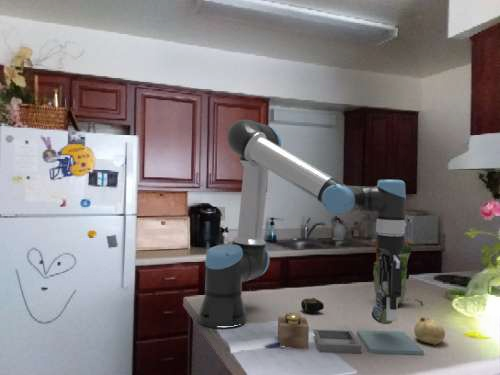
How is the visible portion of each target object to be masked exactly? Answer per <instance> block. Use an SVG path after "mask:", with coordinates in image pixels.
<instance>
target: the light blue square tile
mask: <svg viewBox="0 0 500 375" xmlns="http://www.w3.org/2000/svg"><path fill="white" fill-rule="evenodd" d="M356 335H357V336H358V337H359V339H360V340H361V342H362V344H363V346H365V348H366V350H367V351H368V353H369V354H383V355H384V354H386V355H387V354H389V355H410V356H411V355H412V356H414V355H416V356H417V355H419V356H424V353H425V351H424V350H423V349H422V348H421V347H420V346H419V345H418V344H417V343H416V342H415V340H413V339H412V338H411V337H410V336H409V335H408V334H407V333H406V332H405V331H399V330H398V331H395V330H394V331H393V330H368V329H367V330H363V329H357V330H356Z"/></svg>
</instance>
